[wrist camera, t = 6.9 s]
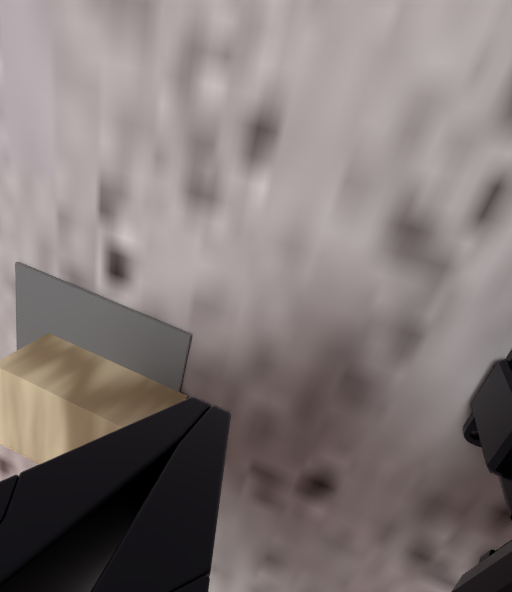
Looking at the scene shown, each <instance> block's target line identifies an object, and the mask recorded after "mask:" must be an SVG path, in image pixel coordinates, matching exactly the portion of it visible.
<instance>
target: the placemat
mask: <svg viewBox="0 0 512 592" xmlns="http://www.w3.org/2000/svg"><path fill="white" fill-rule="evenodd" d="M15 271H16V331H17V350H19V349H21V348H23V347H24V346H26V345H28V344H30V343H32V342H33V341H35V340H37V339H39V338H40V337H42V336H44V335H46V334H48V333H50V334H52V335H54V336H56V337H59V338H61V339H63V340H65V341H67V342H70V343H72V344H74V345H76V346H78V347H81V348H83V349H85V350H87V351H89V352H92V353H94V354H96V355H98V356H101V357H103V358H105V359H107V360H109V361H112V362H114V363H116V364H118V365H120V366H123V367H125V368H127V369H129V370H131V371H134V372H136V373H138V374H140V375H143V376H145V377H147V378H149V379H151V380H154V381H156V382H158V383H160V384H162V385H165V386H167V387H169V388H171V389H174V390H176V391H178V392H180V390H181V385H182V380H183V375H184V371H185V366H186V361H187V356H188V352H189V347H190V342H191V337H192V334H190V333H187V332H185V331H182V330H180V329H178V328H175V327H173V326H170V325H168V324H166V323H163V322H161V321H158V320H156V319H154V318H151V317H149V316H147V315H144V314H142V313H139V312H137V311H135V310H132V309H130V308H127V307H125V306H123V305H120V304H118V303H115V302H113V301H111V300H108V299H106V298H103V297H101V296H99V295H96V294H94V293H91V292H89V291H87V290H84V289H82V288H79V287H77V286H75V285H72V284H70V283H68V282H65V281H63V280H60V279H58V278H56V277H53V276H51V275H48V274H46V273H44V272H41V271H39V270H36V269H34V268H32V267H29V266H27V265H24V264H22V263H20V262H16V263H15Z"/></svg>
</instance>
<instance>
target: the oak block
mask: <svg viewBox="0 0 512 592" xmlns="http://www.w3.org/2000/svg"><path fill="white" fill-rule="evenodd" d="M186 399H187V395H185V394H182V393H180V392H178V391H176V390H174V389H171V388H169V387H167V386H165V385H162V384H160V383H158V382H156V381H154V380H151V379H149V378H147V377H145V376H143V375H140V374H138V373H136V372H134V371H131V370H129V369H127V368H125V367H123V366H120V365H118V364H116V363H114V362H112V361H109V360H107V359H105V358H103V357H101V356H98V355H96V354H94V353H92V352H89V351H87V350H85V349H83V348H81V347H78V346H76V345H74V344H72V343H70V342H67V341H65V340H63V339H61V338H59V337H56V336H54V335H52V334H50V333H48V334H46V335H44V336H42V337H40V338H39V339H37V340H35V341H33V342H32V343H30V344H28V345H26V346H24V347H23V348H21V349H19V350H17V351H15V352H14V353H12V354H10V355H8V356H6V357H5V358H3V359H1V360H0V444H1V445H3V446H5V447H7V448H9V449H11V450H12V451H14V452H16V453H18V454H20V455H22V456H24V457H26V458H28V459H29V460H31V461H33V462H35V463H37V464H41V463H43V462H46V461H48V460H50V459H53V458H55V457H57V456H59V455H62V454H64V453H66V452H68V451H71V450H73V449H75V448H77V447H80V446H82V445H84V444H86V443H89V442H91V441H93V440H95V439H98V438H100V437H102V436H104V435H107V434H109V433H111V432H114V431H116V430H118V429H120V428H123V427H125V426H127V425H129V424H132V423H134V422H136V421H138V420H141V419H143V418H145V417H147V416H150V415H152V414H154V413H156V412H159V411H161V410H163V409H165V408H168V407H170V406H172V405H175V404H177V403H179V402H181V401H184V400H186Z"/></svg>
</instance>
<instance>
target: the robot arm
mask: <svg viewBox="0 0 512 592" xmlns="http://www.w3.org/2000/svg"><path fill="white" fill-rule="evenodd" d="M472 409H473V412H472V414H471V416H470V417H469V419H468V420H467V422H466V423H465V425H464V428H463V431H464V436H465V439H466V440H467V441H468V442H470V443H471V444H474V445H476V446H479V447H481V448H482V450H483V454H484V458H485V462H486V465H487V467H488V469H489V471H490V473H493V474H495V475H497V476H499V478H500V482H501V486H502V489H503V493H504V497H505V500H506V504H507V507H508V511H509V515H510V518H511V520H512V351H511V353H510V354H509V356H508V357H507V359H504V360H502V361H499V362H497V364H496V365H495V367H494V369H493V370H492V372H491V373H490V375H489V377H488V378H487V380H486V381H485V383H484V385H483V386H482V388H481V389H480V391H479V393H478V394H477V396H476V397H475V399H474V401H473V402H472ZM230 418H231V414H230V412H229V411H227V410H225V409H222V408H220V407H218V406H215V405H214V406H211V405H210V403H208V402H206V401H204V400H201V399H199V398H197V397H190V398H188V399H186V400H184V401H181V402H179V403H177V404H175V405H172V406H170V407H168V408H165V409H163V410H161V411H159V412H156V413H154V414H152V415H150V416H147V417H145V418H143V419H141V420H138V421H136V422H134V423H132V424H129V425H127V426H125V427H123V428H120V429H118V430H116V431H114V432H111V433H109V434H107V435H104V436H102V437H100V438H98V439H95V440H93V441H91V442H89V443H86V444H84V445H82V446H80V447H77V448H75V449H73V450H71V451H68V452H66V453H64V454H62V455H59V456H57V457H55V458H53V459H50V460H48V461H46V462H43V463H41V464H39V465H37V466H34V467H32V468H30V469H28V470H25V471H23V472H21V473H20V475H19V476H18V475H14V476H11V477H9V478H7V479H5V480H2V481H0V592H208V589H209V581H210V578H209V576H210V572H211V564H212V556H213V548H214V541H215V533H216V525H217V518H218V510H219V502H220V495H221V487H222V479H223V472H224V464H225V456H226V449H227V441H228V433H229V426H230ZM473 431H478V434H477V435H474V434H471V433H472V432H473ZM452 592H512V540H511V541H509V542H508V543H506V544H505V545H503V546H502V547H500V548H499V549H498V550H496V551H495V550H490V551H489V552H487V553H486V554H484V555H483V556H481V558H480V560H479V564H478V565H476V566H475V567H473V568H472V569H470V570H469V571H468V572H466V573H465V574H463V575H462V577H461V578H460V580H459V581H458V583H457V584H456V586H455V587H454V589H453V590H452Z"/></svg>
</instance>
